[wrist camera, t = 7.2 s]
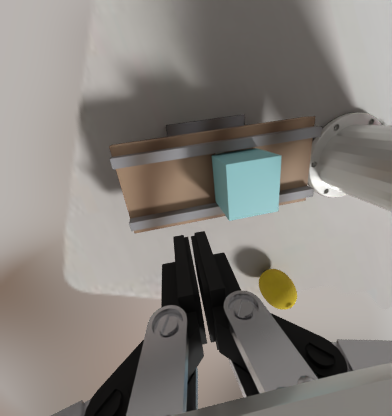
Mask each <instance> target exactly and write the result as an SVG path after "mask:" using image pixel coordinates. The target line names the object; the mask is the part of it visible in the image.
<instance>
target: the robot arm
mask: <svg viewBox="0 0 392 416" xmlns="http://www.w3.org/2000/svg"><path fill="white" fill-rule="evenodd" d="M308 184H309V186H310V187H311V188H313V189H314V191H315V192H317V193H318V194H320V195H323V196H326V197H341V196H345V195H347V194H348V195H350V196H353V197H355V198H358V199H360V200H363V201H365V202H368V203H370V204H373V205H375V206H378V207H380V208H383V209H385V210H388V211H391V212H392V126H389V125H381V123H380V121H379V120H378V119H377V118H376V117H374V116H372V115H371V114H367V113H348V114H345V115H342V116H339V117H338V118H336V119H334V120H332V121H331V122H330V123H329V124H327V125H326V126H325V127H324V128H323V129H322V132H321V137H316V138H315V139H314V141H313V142H312V149H311V158H310V167H309V175H308ZM191 239H192V246H193V252H194V258H195V265H196V271H197V277H198V282H199V287H200V292H201V297H202V302H203V307H204V311H205V316H206V321H207V326H208V331H209V335H210V340H211V342H215V341H216V345H217V350H219V352H220V353H221V354H223V355H224V356H226V357H227V358H229V362H230V365H231V368H232V370H233V372H234V375H235V377H236V379H237V382H238V384H239V387H240V389H241V392H242V394H243V396H244V398H240V399H237V400H233V401H229V402H225V403H221V404H217V405H213V406H209V407H205V408H201V409H198V369H197V366H198V365H199V363H200V361H201V360H202V358H203V356H204V354H203V347H202V344H206V343H207V340H206V334H205V328H204V321H203V315H202V309H201V302H200V296H199V290H198V285H197V280H196V275H195V270H194V265H193V260H192V255H191V250H190V245H189V240H188V237H185V238H184V235H181V236H175V237H174V251H175V262H172V263H166V264H163V265H162V307H161V308H160V309H158V310H157V311H156V312H155V313H153V315H152V316H151V318H150V320H149V322H148V325H147V330H146V334H145V338H144V340H143V341H142V342H141V343H140V344H139V345H138V346H137V347H136V349H135V350H134V351H133V352H132V353H131V354H130V355H129V356H128V357H127V358H126V360H125V361H124V362H123V363H122V364H121V365H120V366H119V367H118V368H117V369H116V371H115V372H114V373H113V374H112V375H111V376H110V378H108V379H107V381H106V382H105V383H104V384H103V385H102V386H101V387H100V388H99V389H98V390H97V392H96V393H95V394H94V396H93V397H92V398H91V399H90V400H89V401H87V402H85V403H84V402H83V401H82V400H81V401H79V402H77V403H75V404H73V405H71V406H69V407H67V408H65V409H63V410H61V411H59V412H57V413H55V414H53V415H51V416H392V341H382V340H339V339H338V340H337V342H334V343H333V342H330V341H328V340H326V339H325V338H323V337H321V336H319V335H316V334H314V333H312V332H310V331H308V330H306V329H303V328H302V327H299V326H297V325H295V324H293V323H291V322H289V321H286V320H284V319H282V318H280V317H278V316H276V315H273V314H271V313H270V312H269V311H268V310H267V308H266V307H265V306H264V304H263V303H262V301H261V300H260V299H259V298H258V297H257V296H256V295H254V294H253V293H251V292H248V291H241V289H240V287H239V285H238V282H237V280H236V278H235V276H234V273H233V271H232V269H231V267H230V264H229V262H228V260H227V258H226V255H225V254H224V253H219V254H213V253H212V250H211V248H210V245H209V242H208V239H207V236H206V234H205V231H203V232H197V233H195V236H191Z"/></svg>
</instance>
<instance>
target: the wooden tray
mask: <svg viewBox="0 0 392 416" xmlns="http://www.w3.org/2000/svg"><path fill="white" fill-rule="evenodd" d="M314 124H315V116H314V117H300V118H293V119H286V120H280V121H273V122H266V123H259V124H252V125H245V123H244V115H237V116H230V117H222V118H215V119H208V120H201V121H194V122H186V123H179V124H172V125H166V128H167V134H168V137H162V138H156V139H149V140H142V141H135V142H128V143H121V144H114V145H111V146H109V148H110V151H111V155H112V157H111V158H110V162H111V165H112V169H116V172H117V175H118V178H119V182H120V185H121V189H122V192H123V195H124V199H125V202H126V206H127V209H128V212H129V216H130V222H129V225H130V228H131V231H134V233H139V232H145V231H150V230H155V229H160V228H165V227H170V226H175V225H181V224H186V223H191V222H196V221H201V220H206V219H212V218H217V217H222V216H226V215H225V214H224V213H223V211H222V210H221V208H220V207H219V206H218V204H217V203H216V200H215V189H214V177H213V166H212V155H215V154H221V153H228V152H234V151H240V150H247V149H253V148H258V149H261V150H264V151H268V152H271V153H275V154H278V155H282V156H281V174H280V191H279V205H284V204H289V203H294V202H299V201H304V200H306V198H307V197H312V196H313V192H314V189H313V188H311V187H309V186H307V184H308V175H309V167H310V158H311V149H312V141H313V138H315V137H321V132H322V127H319V126H314Z"/></svg>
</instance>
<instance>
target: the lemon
mask: <svg viewBox="0 0 392 416" xmlns="http://www.w3.org/2000/svg"><path fill="white" fill-rule="evenodd" d="M259 288H260V291H261V293H262V295H263V297H264V298H265V299H266V301H267V302H268V303H269V304H271V305H272V306H274V307H275V308H278V309H288V308H291V307H292V306H293V305H294V304H295V302H296V299H297V291H296V288H295V286H294V284H293V282H292V281H291V279H290V278H289V277H288V276H287V275H286V274H285V273H283V272H282V271H280V270H277V269H269V270H266V271H265V272H263V273H262V275H261V276H260V279H259Z"/></svg>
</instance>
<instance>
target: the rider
mask: <svg viewBox="0 0 392 416" xmlns="http://www.w3.org/2000/svg"><path fill="white" fill-rule="evenodd" d="M281 156H282V155H278V154H275V153H271V152H268V151H264V150H261V149H258V148H253V149H247V150H240V151H234V152H228V153H221V154H215V155H212V166H213V177H214V189H215V200H216V203H217V204H218V206H219V207H220V208H221V210H222V211H223V213H224V214H225V215H226V217H227V218H228V220H229V221H231V220H236V219H241V218H246V217H251V216H256V215H261V214H267V213H272V212H277V211H278V209H279V191H280V174H281Z"/></svg>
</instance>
